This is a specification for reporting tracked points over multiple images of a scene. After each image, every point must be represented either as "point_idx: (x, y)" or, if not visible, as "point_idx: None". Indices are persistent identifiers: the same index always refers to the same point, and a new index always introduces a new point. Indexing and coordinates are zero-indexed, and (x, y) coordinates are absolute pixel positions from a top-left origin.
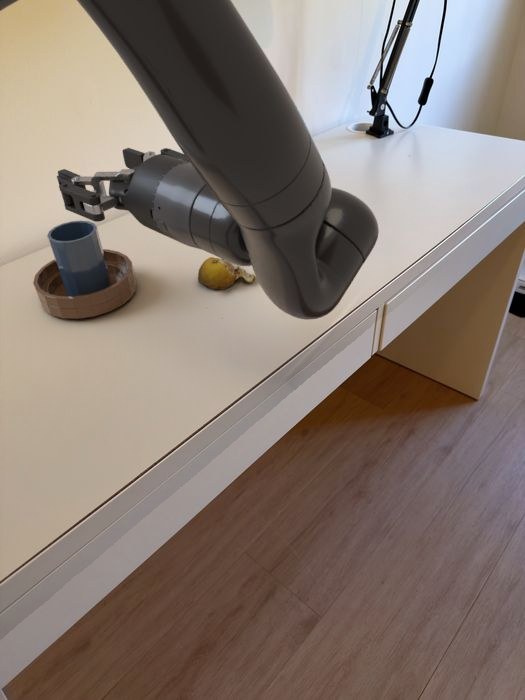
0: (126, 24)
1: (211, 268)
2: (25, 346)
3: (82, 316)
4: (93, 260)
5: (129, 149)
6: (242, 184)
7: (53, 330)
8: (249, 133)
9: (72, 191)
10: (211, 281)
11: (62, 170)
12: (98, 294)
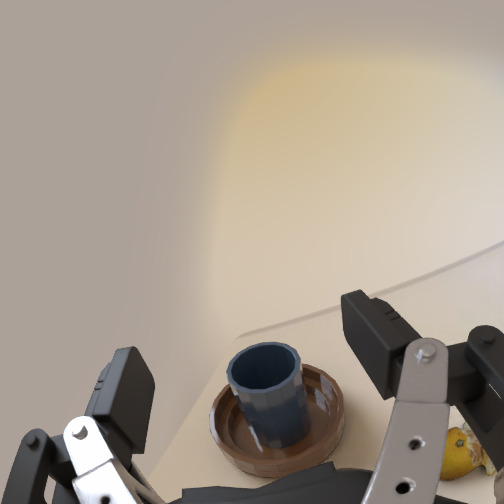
0: None
1: (450, 457)
2: (173, 473)
3: (245, 471)
4: (279, 415)
5: (360, 300)
6: None
7: (210, 468)
8: None
9: (7, 489)
10: (441, 474)
11: (120, 353)
12: (267, 465)
